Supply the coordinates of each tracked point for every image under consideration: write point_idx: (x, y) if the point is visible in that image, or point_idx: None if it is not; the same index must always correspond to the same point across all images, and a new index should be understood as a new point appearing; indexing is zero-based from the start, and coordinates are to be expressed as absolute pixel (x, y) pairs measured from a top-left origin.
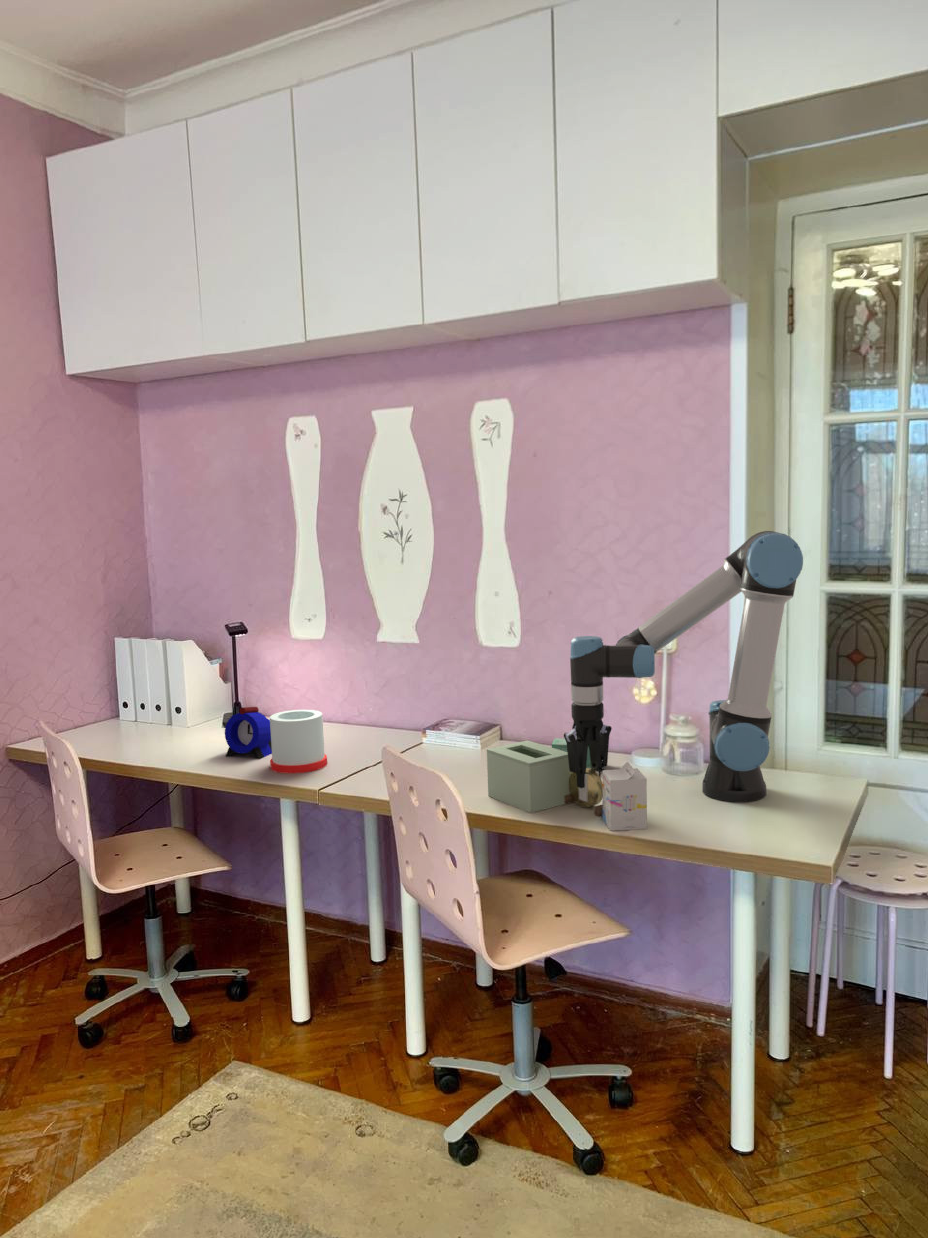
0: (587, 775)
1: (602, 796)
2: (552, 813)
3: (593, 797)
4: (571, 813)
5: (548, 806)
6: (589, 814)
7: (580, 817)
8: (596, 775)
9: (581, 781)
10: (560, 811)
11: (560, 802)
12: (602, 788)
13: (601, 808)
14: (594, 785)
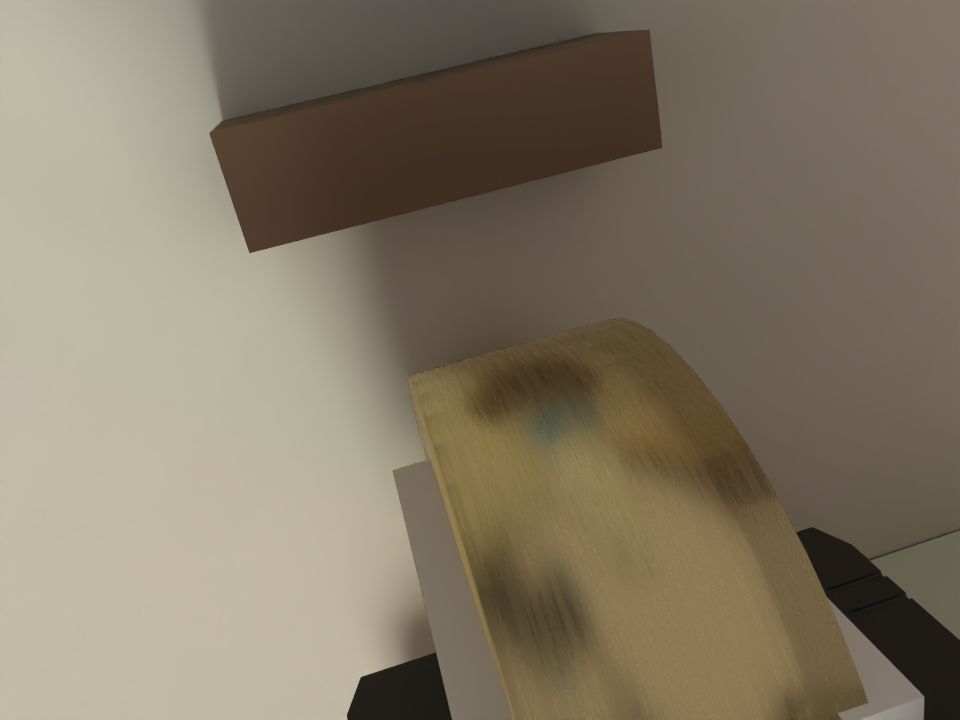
0: (869, 697)
1: (417, 374)
2: (950, 402)
3: (627, 322)
4: (801, 321)
5: (896, 566)
6: (651, 192)
7: (806, 139)
8: (598, 709)
9: (902, 607)
10: (851, 429)
11: None
12: (452, 421)
13: (595, 43)
14: (684, 434)
